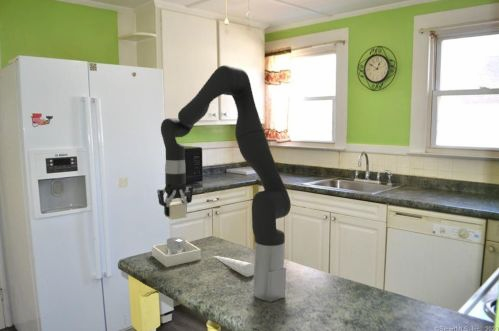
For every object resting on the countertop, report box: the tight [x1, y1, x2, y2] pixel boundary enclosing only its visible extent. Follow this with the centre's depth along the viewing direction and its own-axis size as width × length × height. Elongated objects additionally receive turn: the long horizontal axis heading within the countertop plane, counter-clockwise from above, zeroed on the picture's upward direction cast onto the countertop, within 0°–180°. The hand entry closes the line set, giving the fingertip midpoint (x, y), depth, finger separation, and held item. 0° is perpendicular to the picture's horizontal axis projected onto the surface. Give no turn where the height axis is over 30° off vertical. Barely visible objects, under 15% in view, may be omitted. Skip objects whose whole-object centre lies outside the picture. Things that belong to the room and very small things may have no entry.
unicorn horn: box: [213, 255, 254, 278], centre depth 145 cm, size 5×24×5 cm, turn 35°
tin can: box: [166, 236, 186, 256], centre depth 150 cm, size 7×7×7 cm
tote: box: [151, 239, 202, 268], centre depth 151 cm, size 14×14×4 cm
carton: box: [164, 201, 187, 220], centre depth 149 cm, size 6×6×5 cm
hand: (175, 214), depth 149 cm, fingers closed on carton, 6 cm apart
